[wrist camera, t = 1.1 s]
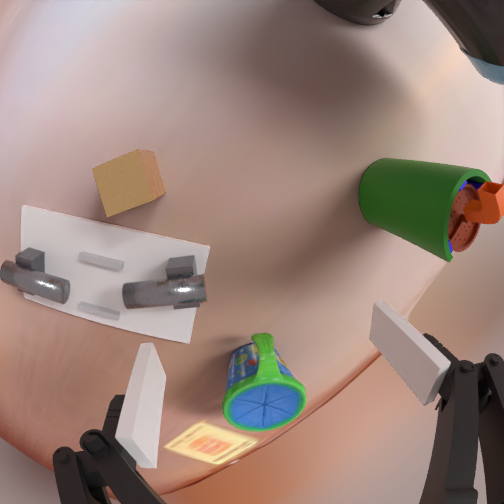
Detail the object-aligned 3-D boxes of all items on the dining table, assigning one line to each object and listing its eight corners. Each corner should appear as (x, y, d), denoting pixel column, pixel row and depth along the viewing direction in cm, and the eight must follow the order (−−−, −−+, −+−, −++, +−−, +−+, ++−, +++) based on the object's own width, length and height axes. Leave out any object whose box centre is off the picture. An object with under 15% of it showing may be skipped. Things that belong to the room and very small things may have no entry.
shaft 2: (202, 254, 32) (201, 271, 27) (208, 292, 34) (208, 315, 29) (130, 262, 31) (117, 281, 26) (139, 299, 33) (129, 322, 28)
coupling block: (115, 166, 28) (92, 168, 22) (153, 152, 29) (138, 149, 22) (127, 205, 30) (107, 217, 24) (165, 192, 30) (153, 200, 24)
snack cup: (224, 313, 36) (230, 363, 27) (298, 318, 38) (323, 363, 29) (214, 392, 41) (218, 441, 31) (276, 393, 43) (290, 439, 33)
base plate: (25, 204, 27) (17, 207, 25) (210, 245, 33) (210, 251, 31) (27, 294, 31) (20, 300, 29) (189, 339, 37) (189, 348, 35)
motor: (378, 238, 36) (485, 300, 17) (344, 190, 33) (465, 228, 14) (420, 192, 35) (529, 225, 16) (391, 143, 32) (513, 149, 13)
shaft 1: (22, 276, 29) (2, 292, 24) (20, 244, 28) (-2, 257, 23) (78, 295, 31) (61, 315, 26) (78, 261, 30) (59, 278, 25)
